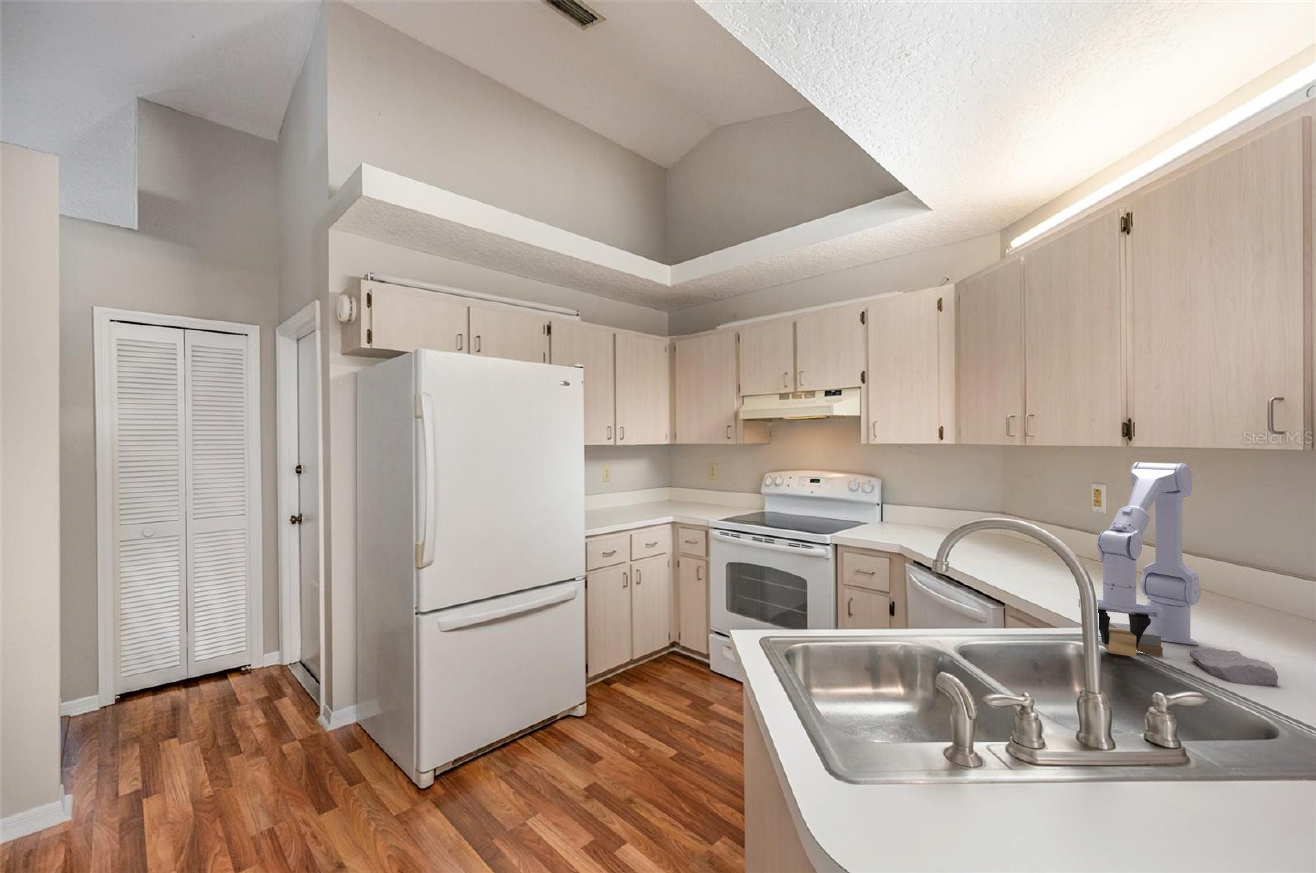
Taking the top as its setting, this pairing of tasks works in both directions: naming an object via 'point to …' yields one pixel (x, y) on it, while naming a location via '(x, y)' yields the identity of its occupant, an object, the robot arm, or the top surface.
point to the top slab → (1146, 638)
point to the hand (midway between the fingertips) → (1119, 644)
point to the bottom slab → (1150, 650)
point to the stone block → (1234, 666)
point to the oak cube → (1121, 642)
